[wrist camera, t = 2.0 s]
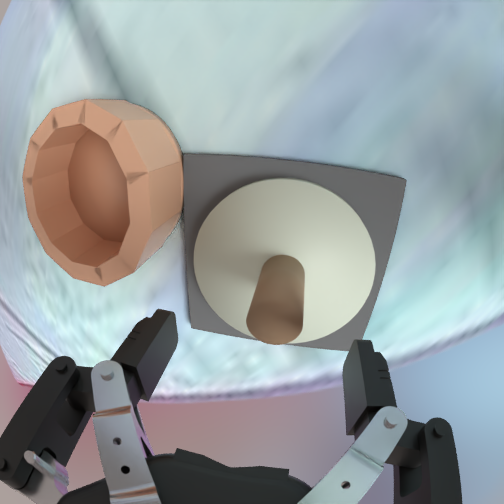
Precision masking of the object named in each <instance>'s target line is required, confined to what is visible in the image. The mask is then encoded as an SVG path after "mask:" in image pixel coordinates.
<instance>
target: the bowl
mask: <svg viewBox="0 0 504 504" xmlns="http://www.w3.org/2000/svg"><path fill="white" fill-rule="evenodd" d="M23 187H24V194H25V201H26V207H27V213H28V218H29V220H30V222H31V225H32V227H33V229H34V231H35V233H36V235H37V237H38V239H39V241H40V242H41V244H42V246H43V248H44V250H45V252H46V253H47V254H48V255H49V256H50V257H51V258H52V259H53V260H54V261H55V262H56V263H57V264H58V265H59V266H60V267H61V268H62V269H64V270H65V271H66V272H67V273H68V274H69V275H70V276H71V277H73V278H75V279H78V280H82V281H86V282H89V283H93V284H97V285H101V286H107V285H109V284H111V283H113V282H115V281H117V280H119V279H121V278H123V277H125V276H127V275H130V274H132V273H134V272H135V271H136V270H137V269H138V268H139V267H140V266H141V265H142V264H143V263H144V262H146V261H147V260H148V259H149V258H150V257H151V256H152V255H153V254H154V253H155V252H156V251H157V250H158V249H160V248H161V247H162V246H163V244H164V242H165V240H166V238H167V237H168V236H169V235H170V234H171V233H172V232H173V230H174V228H175V227H176V225H177V224H178V221H179V219H180V217H181V215H182V212H183V208H184V186H183V154H182V151H181V148H180V146H179V144H178V142H177V139H176V138H175V136H174V134H173V133H172V131H171V129H170V128H169V127H168V126H167V125H166V123H165V122H164V121H163V120H162V119H161V118H160V117H159V116H158V115H156V114H155V113H153V112H152V111H150V110H149V109H147V108H145V107H142V106H140V105H136V104H132V103H129V102H127V101H125V100H108V99H85V100H81V101H77V102H73V103H70V104H66V105H63V106H60V107H56V108H53V109H52V110H51V111H50V112H49V114H48V115H47V116H46V118H45V119H44V120H43V122H42V123H41V124H40V126H39V127H38V128H37V130H36V131H35V133H34V134H33V135H32V137H31V138H30V142H29V146H28V151H27V156H26V161H25V166H24V171H23Z"/></svg>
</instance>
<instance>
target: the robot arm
mask: <svg viewBox="0 0 504 504" xmlns="http://www.w3.org/2000/svg"><path fill="white" fill-rule="evenodd" d="M177 343H178V333H177V325H176V317H175V313H174V312H171V311H167V310H162V309H157V310H156V312H155V313H154V314H153V316H152V317H151V318H148V317H146V318H144V319H143V320H141V321H139V322H138V323H137V324H136V325H135V327H134V328H133V329H132V332H130V334H129V335H128V336H127V338H126V339H125V340H124V342H123V343H122V345H121V346H120V347H119V349H118V350H117V351H116V353H115V354H114V356H113V357H112V358H111V360H107V361H102V362H100V363H98V364H96V365H95V366H94V367H82V366H76V364H75V362H74V360H73V359H72V358H70V357H68V356H60V357H57V358H55V359H54V360H53V361H52V362H51V363H50V364H49V365H48V367H47V368H46V370H45V371H44V372H43V374H42V375H41V376H40V378H39V379H38V381H37V382H36V383H35V385H34V386H33V388H32V389H31V391H30V392H29V393H28V395H27V396H26V398H25V399H24V401H23V402H22V404H21V405H20V407H19V408H18V410H17V411H16V413H15V415H14V416H13V418H12V419H11V421H10V423H9V424H8V426H7V427H6V429H5V431H4V432H3V434H2V436H1V438H0V480H1V481H3V482H4V483H5V484H7V485H8V486H9V487H10V488H12V489H14V490H16V491H17V492H19V493H20V494H22V495H24V496H26V497H28V498H29V499H31V500H32V501H33V502H35V503H36V504H357V503H358V502H359V501H360V500H361V498H362V497H363V496H364V495H365V494H366V492H367V491H368V490H369V488H370V487H371V485H372V484H373V483H374V482H375V480H376V479H377V478H378V476H379V475H380V473H381V472H382V470H383V468H384V467H383V464H384V463H387V464H392V465H393V466H394V504H462V493H461V483H460V474H459V466H458V460H457V454H456V448H455V443H454V438H453V432H452V428H451V426H450V424H449V423H448V422H447V421H446V420H444V419H442V418H433V419H431V420H429V421H428V422H427V423H426V424H424V423H420V422H415V421H411V420H409V419H407V417H406V415H405V414H404V412H403V411H402V410H400V409H399V408H397V405H396V400H395V395H394V391H393V386H392V382H391V379H390V373H389V372H388V371H389V369H388V365H387V361H386V360H385V358H384V357H383V356H382V354H381V353H380V352H374V349H373V345H372V342H371V340H359V339H355V340H354V341H353V343H352V345H351V348H350V350H349V353H348V355H347V357H346V360H345V362H344V366H343V387H344V398H345V399H344V400H345V416H346V435H354V436H355V442H354V443H353V444H352V445H351V446H350V448H349V449H348V450H347V451H346V452H345V454H344V455H343V456H342V457H341V458H340V459H339V460H338V462H337V463H336V464H335V465H334V466H333V467H332V468H331V469H330V470H329V471H328V472H327V473H326V475H325V476H324V477H323V478H322V479H321V480H320V481H319V482H318V483H317V484H316V485H315V486H314V487H313V488H311V487H310V486H309V485H307V484H306V483H305V482H303V481H301V480H299V479H298V478H295V477H293V476H290V475H288V474H289V469H281V468H272V467H264V466H256V467H238V468H237V467H236V468H231V467H228V466H225V465H223V464H221V463H219V462H216V461H214V460H212V459H210V458H208V457H206V456H204V455H201V454H196V453H193V452H189V451H186V450H182V449H178V448H177V449H176V452H175V454H172V453H170V454H159V455H155V454H154V452H153V449H152V447H151V445H150V443H149V440H148V438H147V435H146V431H145V429H144V425H143V423H142V419H141V415H140V412H139V409H138V406H137V404H138V402H139V400H140V398H141V399H143V400H146V401H149V399H150V397H151V395H152V393H153V391H154V389H155V388H156V386H157V384H158V382H159V380H160V378H161V376H162V374H163V372H164V370H165V368H166V366H167V364H168V363H169V361H170V359H171V357H172V355H173V353H174V351H175V349H176V347H177ZM93 412H96V414H93V424H94V430H95V435H96V440H97V445H98V450H99V454H100V459H101V463H102V467H103V471H104V474H105V478H104V479H101V480H99V481H96V482H94V483H92V484H89V485H86V486H84V487H82V488H78V489H76V490H73V491H70V492H68V490H67V486H68V485H69V480H68V478H69V477H68V472H67V470H66V468H65V467H66V465H67V463H68V461H69V459H70V456H71V454H72V452H73V450H74V448H75V446H76V444H77V442H78V440H79V438H80V436H81V434H82V432H83V430H84V428H85V427H86V425H87V423H88V421H89V419H90V417H91V415H92V413H93Z"/></svg>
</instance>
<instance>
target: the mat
mask: <svg viewBox="0 0 504 504" xmlns="http://www.w3.org/2000/svg"><path fill="white" fill-rule="evenodd" d="M270 178H296V179H302V180H307V181H310V182H313V183H316V184H319V185H321V186H323V187H325V188H327V189H329V190H331V191H333V192H334V193H336V194H337V195H339V196H340V197H341V198H343V199H344V200H345V201H346V202H347V203H348V204H349V205H350V206H351V207H352V208H353V209H354V211H355V212H356V213H357V214H358V216H359V217H360V219H361V221H362V222H363V224H364V226H365V227H366V229H367V231H368V233H369V236H370V238H371V241H372V244H373V248H374V252H375V263H376V265H375V276H374V281H373V285H372V288H371V291H370V293H369V296H368V298H367V300H366V301H365V303H364V305H363V306H362V308H361V309H360V310H359V312H358V313H357V314H356V315H355V316H354V317H353V318H352V319H351V320H350V321H349V322H348V323H346V324H345V325H344V326H343V327H341V328H340V329H338V330H336V331H335V332H333V333H331V334H329V335H327V336H325V337H322V338H319V339H316V340H312V341H308V342H302V343H287V344H286V345H294V346H302V347H310V348H320V349H330V350H340V351H349V350H350V348H351V345H352V343H353V341H354V340H355V339H359V340H362V338H363V335H364V333H365V330H366V327H367V325H368V322H369V319H370V317H371V314H372V311H373V308H374V305H375V302H376V299H377V296H378V293H379V290H380V287H381V284H382V281H383V277H384V274H385V271H386V267H387V264H388V260H389V256H390V253H391V249H392V245H393V241H394V237H395V233H396V229H397V225H398V220H399V216H400V211H401V207H402V202H403V197H404V191H405V186H406V180H405V179H404V178H399V177H395V176H390V175H385V174H380V173H375V172H369V171H364V170H358V169H352V168H346V167H340V166H333V165H326V164H319V163H311V162H303V161H294V160H285V159H275V158H263V157H250V156H235V155H215V154H184V155H183V186H184V228H185V251H186V269H187V283H188V297H189V309H190V319H191V328H193V329H198V330H203V331H208V332H213V333H218V334H224V335H229V336H235V337H240V338H246V339H252V340H258V339H256V338H253V337H251V336H248V335H246V334H244V333H242V332H240V331H238V330H236V329H235V328H233V327H232V326H230V325H229V324H227V323H226V322H225V321H224V320H223V319H221V318H220V317H219V316H218V315H217V314H216V313H215V312H214V310H213V309H212V308H211V307H210V305H209V304H208V303H207V301H206V300H205V298H204V296H203V294H202V293H201V290H200V288H199V285H198V283H197V279H196V275H195V270H194V248H195V242H196V239H197V236H198V233H199V230H200V228H201V226H202V224H203V222H204V221H205V219H206V218H207V216H208V215H209V214H210V212H211V211H212V210H213V209H214V208H215V207H216V206H217V205H218V204H219V203H220V202H221V201H222V200H223V199H224V198H226V197H227V196H228V195H230V194H231V193H232V192H234V191H236V190H237V189H239V188H241V187H243V186H245V185H248V184H250V183H253V182H256V181H260V180H264V179H270ZM258 341H260V340H258Z"/></svg>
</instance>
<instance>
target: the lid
mask: <svg viewBox="0 0 504 504" xmlns="http://www.w3.org/2000/svg"><path fill="white" fill-rule="evenodd" d="M375 265H376V263H375V252H374V248H373V244H372V241H371V238H370V236H369V233H368V231H367V229H366V227H365V226H364V224H363V222H362V221H361V219H360V217H359V216H358V214H357V213H356V212H355V211H354V209H353V208H352V207H351V206H350V205H349V204H348V203H347V202H346V201H345V200H344V199H343V198H341V197H340V196H339V195H337V194H336V193H334V192H333V191H331V190H329V189H327V188H325V187H323V186H321V185H319V184H316V183H313V182H310V181H307V180H302V179H296V178H270V179H264V180H260V181H256V182H253V183H250V184H248V185H245V186H243V187H241V188H239V189H237V190H236V191H234V192H232V193H231V194H230V195H228V196H227V197H226V198H224V199H223V200H222V201H221V202H220V203H219V204H218V205H217V206H216V207H215V208H214V209H213V210H212V211H211V212H210V214H209V215H208V216H207V218H206V219H205V221H204V222H203V224H202V226H201V228H200V230H199V233H198V236H197V239H196V242H195V248H194V270H195V275H196V279H197V283H198V285H199V288H200V290H201V293H202V294H203V296H204V298H205V300H206V301H207V303H208V304H209V305H210V307H211V308H212V309H213V310H214V312H215V313H216V314H217V315H218V316H219V317H220V318H221V319H223V320H224V321H225V322H226V323H227V324H229V325H230V326H232V327H233V328H235V329H236V330H238V331H240V332H242V333H244V334H246V335H248V336H251V337H253V338H256V339H258V340H260V341H262V342H264V343H267V344H273V345H281V344H287V343H302V342H308V341H312V340H316V339H319V338H322V337H325V336H327V335H329V334H331V333H333V332H335V331H336V330H338V329H340V328H341V327H343V326H344V325H345V324H346V323H348V322H349V321H350V320H351V319H352V318H353V317H354V316H355V315H356V314H357V313H358V312H359V310H360V309H361V308H362V306H363V305H364V303H365V301H366V300H367V298H368V296H369V293H370V291H371V288H372V285H373V281H374V276H375Z"/></svg>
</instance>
